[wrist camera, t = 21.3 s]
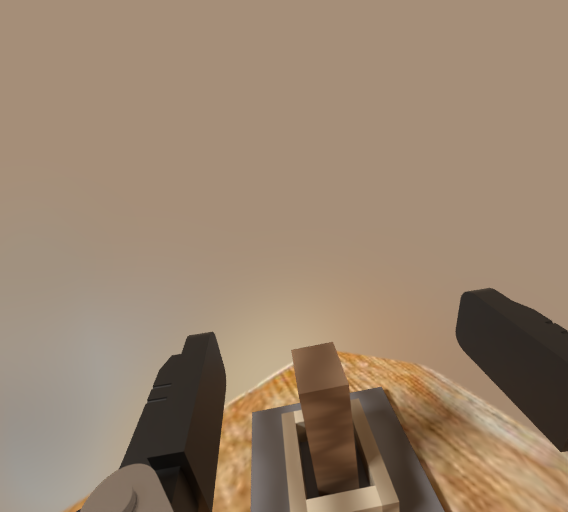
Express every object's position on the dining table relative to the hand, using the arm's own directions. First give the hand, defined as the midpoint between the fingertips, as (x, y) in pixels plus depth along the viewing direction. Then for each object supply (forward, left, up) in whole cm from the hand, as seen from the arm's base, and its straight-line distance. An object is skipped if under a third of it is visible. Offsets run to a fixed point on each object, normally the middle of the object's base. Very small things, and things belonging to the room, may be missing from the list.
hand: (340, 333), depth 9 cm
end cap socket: (0, +11, -28) cm, 30 cm away
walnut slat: (0, +11, -27) cm, 30 cm away
